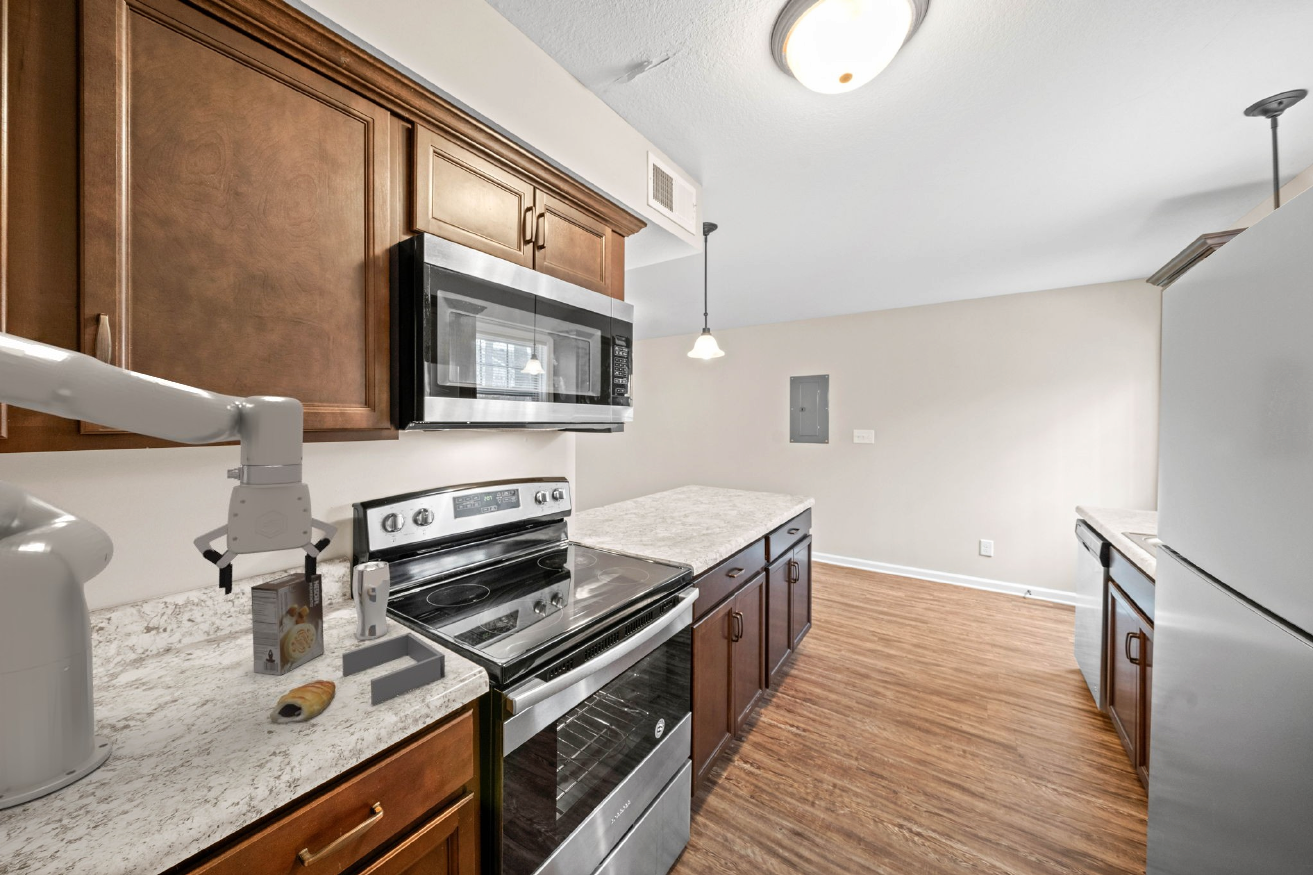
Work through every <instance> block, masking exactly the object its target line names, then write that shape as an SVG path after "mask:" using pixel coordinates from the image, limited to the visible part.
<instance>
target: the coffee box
mask: <svg viewBox="0 0 1313 875" xmlns="http://www.w3.org/2000/svg"><path fill="white" fill-rule="evenodd" d="M322 577H323V576H322V573H316V575H313V576H312V578H311V582H310V583H307V582H306V581H305V572H294V573H290V574H287V575H285V576H281V577H277V578H276V579H275V578H274V579H272V580H269V581H265V582H263V583H260V584H256V585H252V586H251V587H250V588H251V589H250V590H251V591H250V592H251V618H252V650H253V651H252V654H253V657H252V658H253V672H254V673H255V672H259V673H258V674H263V673H265V674H264V675H272V674H275V675H274V676H282V674H283V675H285V674H286V672H287V673H288V671H289V672H291V671H292V670H294V669H296V668H298V667H300V666H302V665H304V664H305V662H306V663H307V662H309V661H311V660H314V659H315V658H316V657H319V656H321V655H322V653H323V654H324V653H325V643H324V610H323V609H324V608H323V578H322ZM320 654H321V655H320ZM303 663H304V664H303ZM301 664H302V665H301ZM299 665H300V666H299ZM290 670H291V671H290Z"/></svg>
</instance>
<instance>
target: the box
mask: <svg viewBox="0 0 1313 875" xmlns="http://www.w3.org/2000/svg"><path fill="white" fill-rule="evenodd" d="M341 654H342V658H341V659H342V677H344V678H345V677H348V676H350V675H354V674H356V673H359V672H362V671H366V670H368V669H371V668H373V667H377V666H379V665H382V664H385V663H389V662H391V661H394V660H397V659H400V658H403V657H406V656H409V657H410V658H411V659H413V660H414V661H415V663H414V664H410V665H408V666H404V667H402V668H399V669H396V670H394V671H391V672H388V673H386V674H383V675H379V676H377V677H375V678H371V679H370V704H371V705H372V706H373V705H374V706H376V705H379V704H381V703H383V702H382V701H384V702H386V701H388V699H389V700H391V699H394V698H396V697H398V696H397V695H399V696H401V695H403V693H404V694H406V693H408V691H409V692H410V690H411V691H413V689H414V690H416V689H418V688H421V687H423V686H426V685H428V684H431V683H433V682H436V681H439V680H441V679H443V678H445V677H446V674H445V673H446V672H445V670H446V668H445V667H446V664H445V662H446V659H445V658H446V655H445V654H444V653H442V652H441V651H439V650H438V649H436V648H435V647H433V645H430V644H428V643H427V642H426V641H424V640H423V639H421V638H419V637H418V636H416V635H415V634H413V633H412V632H407V633H403V634H400V635H398V636H394V637H391V638H387V639H385V640H381V641H378V642H375V643H372V644H369V645H365V646H362V647H360V648H356V649H353V650H349V651H346V652H343V653H341ZM415 688H416V689H415ZM405 692H406V693H405ZM395 696H396V697H395ZM393 697H394V698H393ZM390 698H391V699H390ZM378 703H379V704H378ZM375 704H376V705H375Z"/></svg>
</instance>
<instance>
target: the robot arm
mask: <svg viewBox="0 0 1313 875" xmlns="http://www.w3.org/2000/svg"><path fill="white" fill-rule="evenodd" d="M0 403H2V404H4V405H5V404H6V405H11V406H14V407H17V408H18V407H19V408H22V409H28V410H32V411H36V412H40V413H45V414H50V415H53V416H57V417H61V418H64V419H65V418H66V419H70V420H76V421H77V420H79V421H84V422H87V423H88V422H89V423H92V424H96V425H101V426H105V427H109V428H113V429H117V430H122V431H127V432H130V433H136V434H140V435H144V436H149V437H155V438H158V439H163V440H167V441H172V442H178V443H182V444H183V443H184V444H187V445H188V444H190V445H204V444H214V443H220V442H231V441H232V442H233V441H240V461H239V462H240V466H237V468H233V469H232V468H231V469H227V473H226V475H227V478H226V479H233V480H237V481H239V485H238V484H237V485H235V486H233V487H232V490H231V493H230V494H231V495H230V499H229V506H228V510H227V512H228V513H227V523H225V524H223V525H221V526H219V527H217V528H215V529H212V530H210V531H209V532H206V533H204V534H202V535H199V536H197V537H195V538H194V540H193V544H194V546H195V547H196V549H197V550H198V552H199V553H200V554H201V555H202V557H203V558H204V559H205V560H207V561H208V562H211V564H213V565H215V566H216V567H217V569H219V570H218V589H224V595H225V596H226V595H227V596H228V595H230V594H231V593H233V592H232V591H233V566H234V565H233V563H232V561H233V560H234V559H235V558H237V556H238V555H248V554H249V555H250V554H259V553H260V554H261V553H268V552H277V551H278V552H279V551H280V552H281V551H287V550H296V549H302V550H304V551H305V552H306V555H305V556H304V573H305V581H306V582H307V583H310V582H311V578H312V576H313V575H316V574H317V567H318V566H317V561H318V560H317V558H318V556H319V555H320V554H321V553H322V552H323V551H324V550H325V549H326V548H327V547H328V546H329V545H330V544H331V542H332V540H333V539H334V537H335V536H336V534H337V532H338V527H337V526H336V525H334V524H331V523H328V522H325V521H322V520H320V519H316V518H314V517H312V516H313V515H312V503H311V502H312V501H311V500H312V499H311V495H310V494H311V493H310V488H309V485H308V483H306V482H303V445H304V444H303V441H304V440H303V437H304V405H303V404H302V402H301V401H300V400H298V399H296V398H295V397H288V396H277V395H276V396H274V395H251V396H248V397H242V396H235V395H227V394H222V393H218V392H215V391H210V390H206V389H203V388H199V387H198V388H197V387H195V386H190V385H186V384H182V383H179V382H175V381H170V380H167V379H163V378H159V377H155V376H151V375H147V374H145V373H144V374H143V373H140V372H136V371H134V370H130V369H127V368H126V369H125V368H122V367H119V366H116V365H112V364H109V363H105V362H104V361H102V360H101V359H100V360H99V359H98V358H96V357H93V356H91V355H88V354H84V353H82V352H79V351H74V350H71V349H67V348H62V347H59V346H56V345H52V344H47V343H44V342H41V341H40V342H39V341H36V340H32V339H29V338H25V337H22V336H17V335H13V334H11V333H6V332H3V331H0ZM313 528H314V529H316V530H320V531H321V532H322V531H323V532H324V534H323V536H322V538H319V540H318V541H317V542H316V543H315V544H314V543H313V542H312V538H313V537H312V535H313ZM223 536H226V549H227V550H225V551H224V552H223V553H220V552H218V551H217V550H215V549H214V548H213V547H212V545H211V544H210V543H211V542H213V541H216V540H217V539H219V538H221V537H223ZM113 556H114V543H113V540H112V538H111V537H110V535H109V533H107V532H106V531H105V530H104V529H103V528H101V527H100V526H98V525H97V524H96V523H94V522H92V521H89V520H88V519H86V518H84V517H82V516H80V515H79V514H75V513H74V512H71V511H70V510H68V509H66V508H63V507H62V506H59V505H58V504H56V503H54V502H51V501H50V500H47V499H45V498H43V497H42V496H40V495H38V494H36V493H33V491H30V490H28V489H25V488H23V487H21V486H18V485H17V484H14V483H11V482H9V481H6V480H1V479H0V810H2V809H6V808H10V807H13V806H16V805H17V806H18V805H20V804H23V803H28V802H29V801H32V800H35V799H38V798H40V797H43V796H45V795H49V794H50V793H53V792H56V791H57V790H60V789H62V788H65V787H66V786H68V785H70V784H72V783H75V782H77V781H78V780H80V779H82V778H84V777H85V776H87V775H88V774H90V773H91V772H93V771H94V770H96V769H97V768H98V767H99V766H101V765H102V764H104V762H105V761H106V760H107V759H108V758H109V757H110V755H111V754H112V752H113V742H112V740H111V739H110V738H108V737H104V736H100V735H99V736H97V735H95V732H96V731H95V708H94V707H95V703H94V702H95V701H94V699H95V697H94V672H93V671H94V669H93V668H94V665H93V662H94V661H93V660H94V659H93V643H92V622H91V616H90V611H89V608H88V607H89V606H88V603H87V600H86V595H85V589H84V588H85V586H84V585H85V584H86V583H88V582H89V581H90V580H92V579H94V578H95V577H97V576H98V575H99V574H101V573H102V572H103V571H104V570H105V569H106V568H107V566H108V565H109V564H110V563H111V561H112V558H113Z"/></svg>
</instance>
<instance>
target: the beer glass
mask: <svg viewBox="0 0 1313 875" xmlns="http://www.w3.org/2000/svg"><path fill="white" fill-rule="evenodd" d="M389 565H390V564H389V562H387V561H379V560H378V561H370V562H369V561H368V562H364V563H360V564H357V565H355V566H354V567H353V576H352V596H353V601H354V606H355V610H356V616H357V627H356V633H355V638H356V639H357V640H360V641H369V640H370V641H371V640H374V639H379V638H382V637H384V636H385V635H387V634H388V633H389V626H388V622H387V608H388V602H389V596H390V589H391V578H390V577H391V575H390V568H389Z"/></svg>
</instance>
